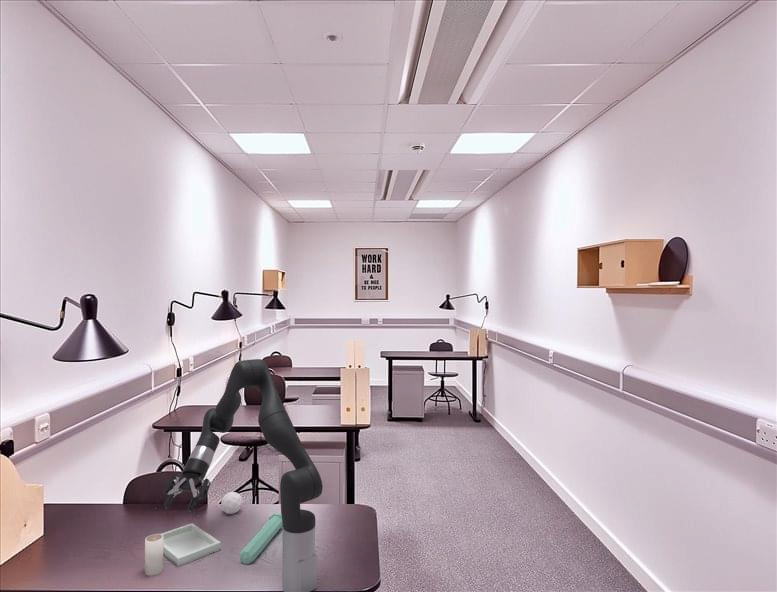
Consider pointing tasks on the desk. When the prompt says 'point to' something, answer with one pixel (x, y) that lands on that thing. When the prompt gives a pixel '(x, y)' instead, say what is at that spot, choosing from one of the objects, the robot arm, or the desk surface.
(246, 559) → the green faceted rod
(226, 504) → the geometric ball
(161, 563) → the cup
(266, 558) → the desk surface
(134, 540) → the desk surface
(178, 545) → the tray
